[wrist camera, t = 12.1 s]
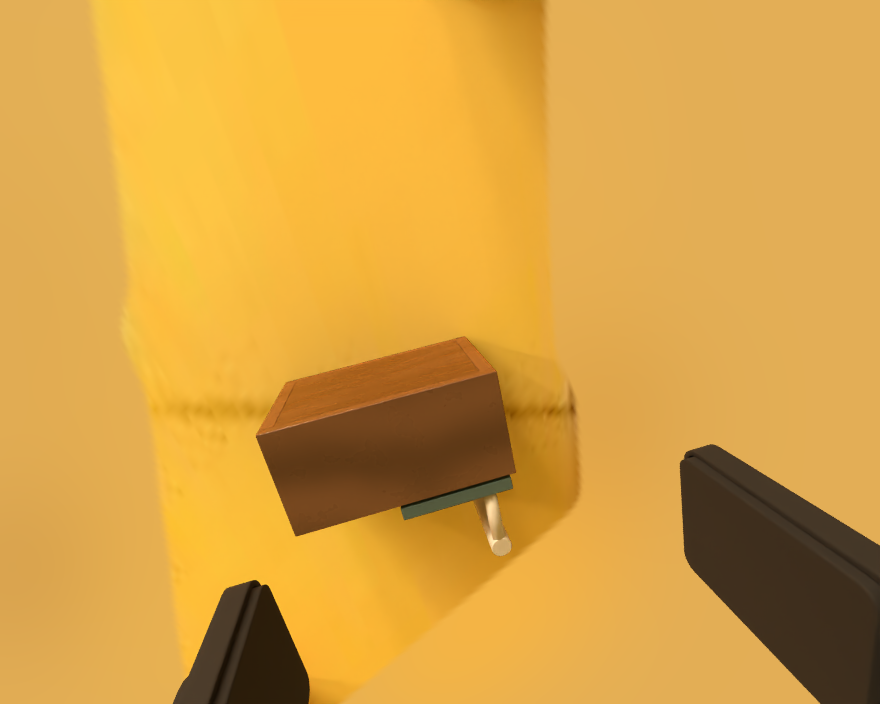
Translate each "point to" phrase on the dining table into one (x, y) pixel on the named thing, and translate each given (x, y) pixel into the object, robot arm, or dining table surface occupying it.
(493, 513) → the sliding door
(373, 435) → the cabinet
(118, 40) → the dining table surface
